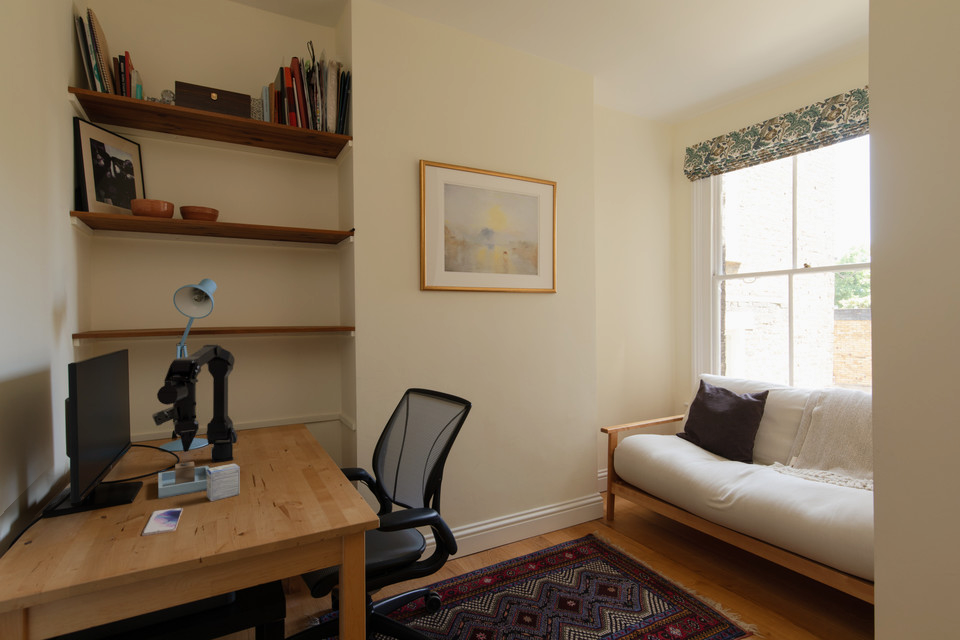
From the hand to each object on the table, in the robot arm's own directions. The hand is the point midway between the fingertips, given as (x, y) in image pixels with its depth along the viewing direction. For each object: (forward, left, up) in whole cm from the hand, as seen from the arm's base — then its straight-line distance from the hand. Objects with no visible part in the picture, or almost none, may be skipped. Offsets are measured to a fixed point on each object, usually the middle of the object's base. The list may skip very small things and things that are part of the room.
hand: (185, 447), depth 150 cm
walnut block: (0, 0, -11) cm, 11 cm away
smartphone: (+6, +27, -12) cm, 31 cm away
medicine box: (-9, +16, -12) cm, 22 cm away
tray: (0, 0, -12) cm, 12 cm away
